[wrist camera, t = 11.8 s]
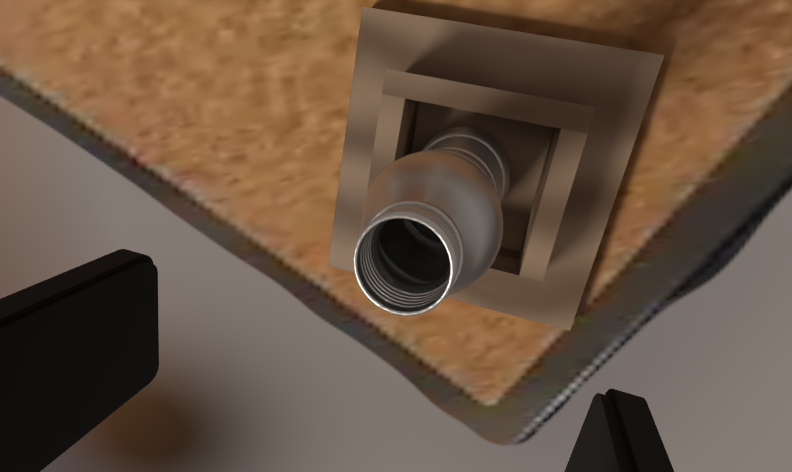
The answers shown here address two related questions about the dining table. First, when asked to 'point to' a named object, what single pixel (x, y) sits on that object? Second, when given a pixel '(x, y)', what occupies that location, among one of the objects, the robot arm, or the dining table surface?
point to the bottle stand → (501, 142)
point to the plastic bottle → (432, 222)
